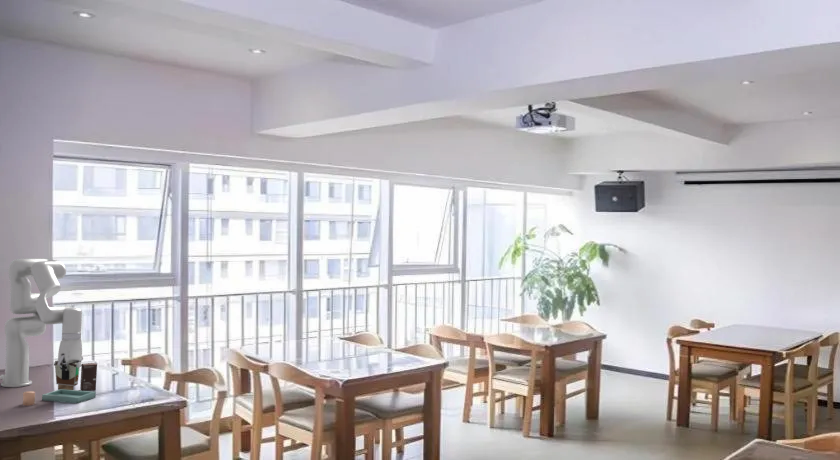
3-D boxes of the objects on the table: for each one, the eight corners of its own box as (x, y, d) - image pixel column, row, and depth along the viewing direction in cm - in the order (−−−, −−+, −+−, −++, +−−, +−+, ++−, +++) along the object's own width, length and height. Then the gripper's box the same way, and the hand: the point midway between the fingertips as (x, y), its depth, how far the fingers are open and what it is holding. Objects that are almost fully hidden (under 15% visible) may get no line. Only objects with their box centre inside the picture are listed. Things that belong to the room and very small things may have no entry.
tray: (41, 400, 294) (42, 394, 294) (60, 394, 306) (60, 389, 306) (78, 403, 291) (78, 397, 291) (95, 397, 302) (95, 391, 302)
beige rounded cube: (20, 405, 285) (20, 393, 285) (28, 402, 290) (28, 390, 290) (29, 405, 285) (29, 393, 285) (37, 403, 289) (37, 391, 289)
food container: (87, 382, 300) (88, 360, 300) (77, 386, 295) (77, 363, 294) (64, 380, 304) (64, 358, 303) (53, 383, 298) (53, 360, 298)
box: (82, 391, 312) (83, 365, 312) (79, 389, 316) (81, 363, 316) (96, 390, 316) (97, 364, 316) (94, 388, 319) (95, 362, 320)
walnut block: (57, 393, 308) (58, 383, 309) (64, 390, 313) (64, 381, 313) (66, 393, 308) (67, 383, 308) (73, 391, 312) (73, 381, 312)
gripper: (77, 333, 308) (75, 374, 307) (49, 338, 291) (48, 381, 291) (92, 334, 306) (90, 375, 306) (65, 339, 290) (64, 382, 289)
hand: (70, 377), depth 298 cm, fingers closed on food container, 5 cm apart
